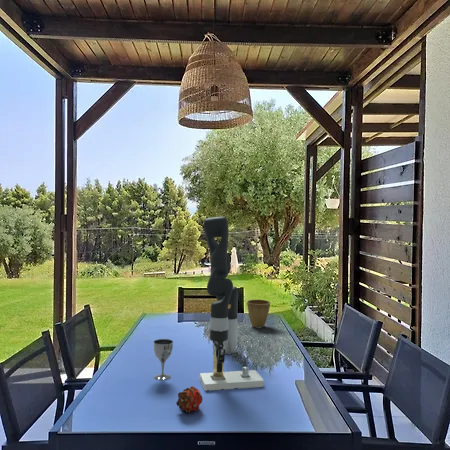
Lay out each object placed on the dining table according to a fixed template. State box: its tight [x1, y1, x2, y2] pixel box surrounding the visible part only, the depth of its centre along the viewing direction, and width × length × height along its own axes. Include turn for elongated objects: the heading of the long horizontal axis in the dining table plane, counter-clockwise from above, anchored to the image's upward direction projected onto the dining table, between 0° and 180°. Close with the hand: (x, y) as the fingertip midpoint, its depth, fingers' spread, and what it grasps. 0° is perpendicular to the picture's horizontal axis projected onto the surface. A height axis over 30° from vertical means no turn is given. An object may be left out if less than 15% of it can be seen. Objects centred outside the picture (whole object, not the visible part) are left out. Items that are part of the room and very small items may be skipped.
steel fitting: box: [241, 366, 250, 378], centre depth 169 cm, size 3×3×6 cm
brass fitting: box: [212, 352, 225, 377], centre depth 167 cm, size 4×4×9 cm
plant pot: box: [246, 299, 271, 328], centre depth 262 cm, size 15×15×16 cm
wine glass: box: [153, 338, 174, 381], centre depth 173 cm, size 8×8×15 cm
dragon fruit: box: [175, 386, 203, 413], centre depth 143 cm, size 8×8×12 cm
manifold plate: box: [199, 369, 265, 392], centre depth 168 cm, size 12×24×2 cm, turn 103°
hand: (218, 369), depth 167 cm, fingers closed on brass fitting, 4 cm apart
